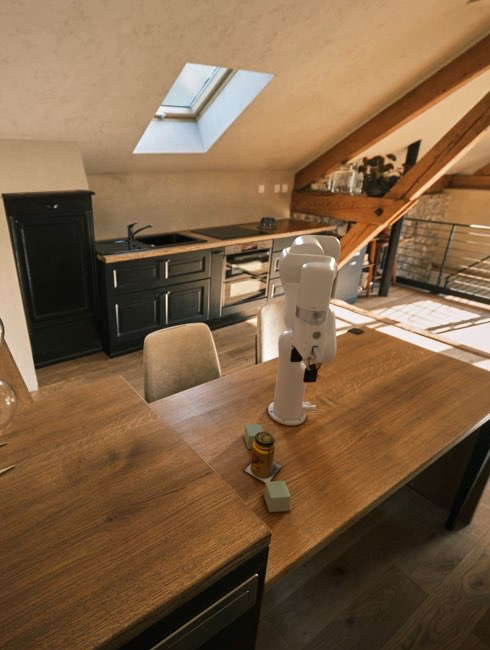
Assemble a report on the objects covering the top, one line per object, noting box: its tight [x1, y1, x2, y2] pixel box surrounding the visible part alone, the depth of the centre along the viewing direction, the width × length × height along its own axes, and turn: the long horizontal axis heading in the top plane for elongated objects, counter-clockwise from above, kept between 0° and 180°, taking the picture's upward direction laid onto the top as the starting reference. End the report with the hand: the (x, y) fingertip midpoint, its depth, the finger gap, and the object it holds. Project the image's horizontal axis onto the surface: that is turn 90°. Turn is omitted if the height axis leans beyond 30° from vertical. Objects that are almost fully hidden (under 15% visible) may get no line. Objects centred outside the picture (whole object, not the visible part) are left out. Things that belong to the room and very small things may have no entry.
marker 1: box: [243, 423, 265, 450], centre depth 118 cm, size 5×5×5 cm
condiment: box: [244, 431, 282, 483], centre depth 107 cm, size 7×8×12 cm
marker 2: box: [263, 480, 292, 513], centre depth 98 cm, size 5×5×5 cm
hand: (302, 371), depth 101 cm, fingers open, 9 cm apart
